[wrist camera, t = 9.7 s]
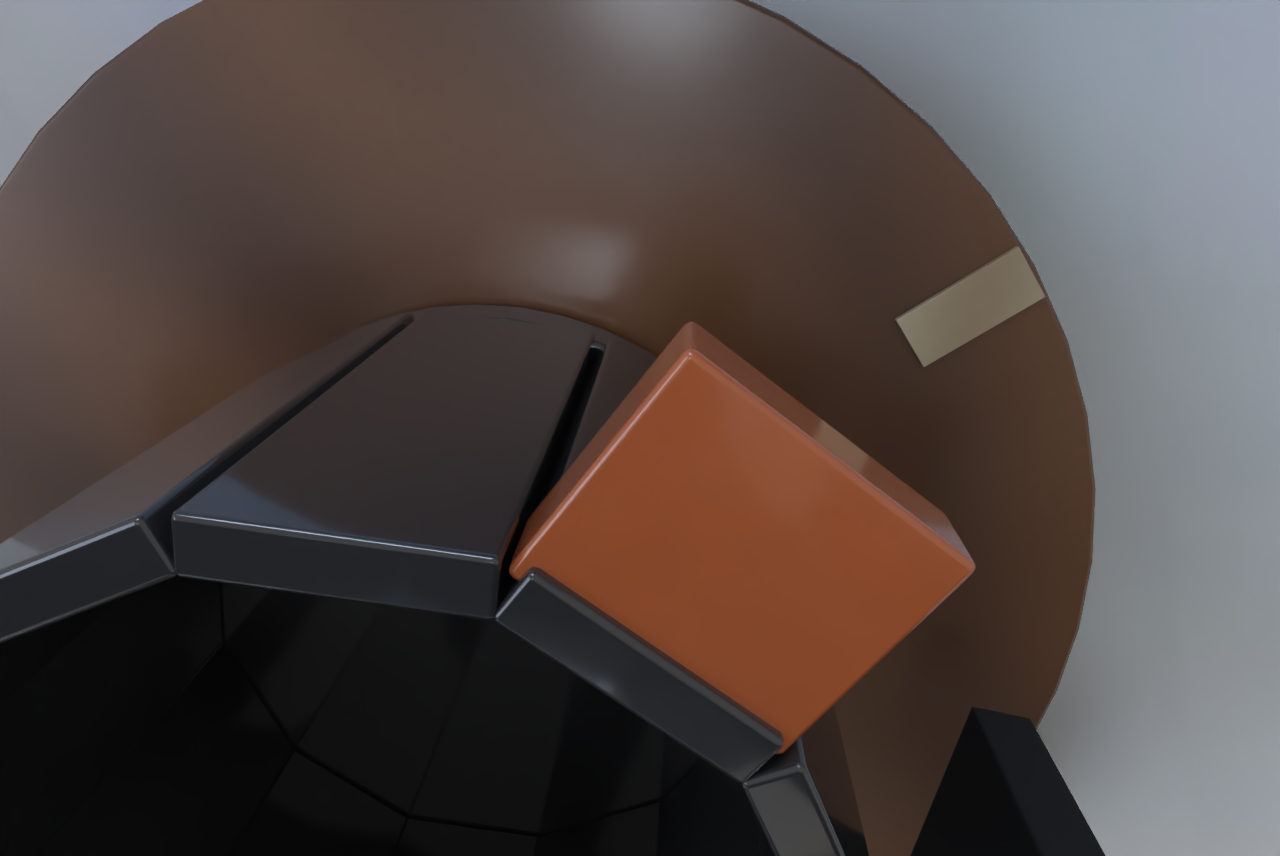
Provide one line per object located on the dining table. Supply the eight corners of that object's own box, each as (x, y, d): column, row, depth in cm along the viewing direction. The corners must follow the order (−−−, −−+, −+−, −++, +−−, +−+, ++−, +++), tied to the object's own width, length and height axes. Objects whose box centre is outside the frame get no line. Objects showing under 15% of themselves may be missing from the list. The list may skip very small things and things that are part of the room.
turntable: (440, 1030, 20) (420, 1107, 18) (-209, 392, 15) (-308, 425, 14) (1231, 678, 15) (1289, 741, 14) (666, -370, 11) (663, -446, 9)
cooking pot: (1006, 461, 12) (1334, 840, 6) (511, 950, 16) (397, 1490, 10) (483, 46, 11) (192, -26, 5) (75, 694, 15) (-387, 1139, 9)
